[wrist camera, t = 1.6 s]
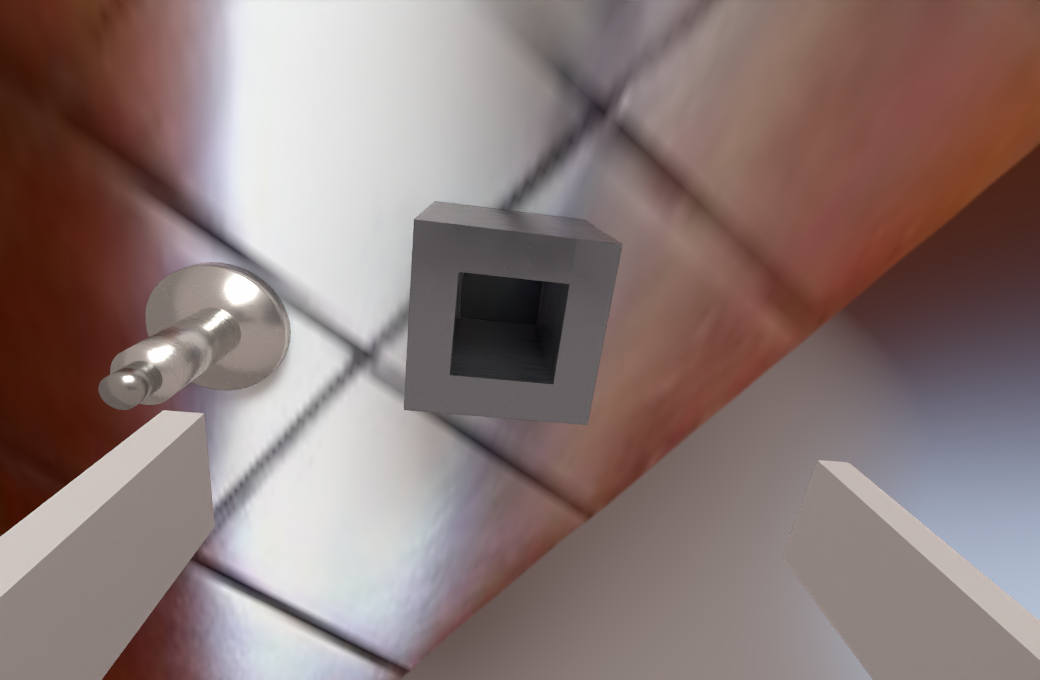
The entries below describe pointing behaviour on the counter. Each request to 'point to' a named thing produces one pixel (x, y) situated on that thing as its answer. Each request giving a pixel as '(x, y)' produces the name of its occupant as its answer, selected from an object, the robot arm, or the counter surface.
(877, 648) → the robot arm
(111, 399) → the hub
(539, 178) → the counter surface
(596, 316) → the block
